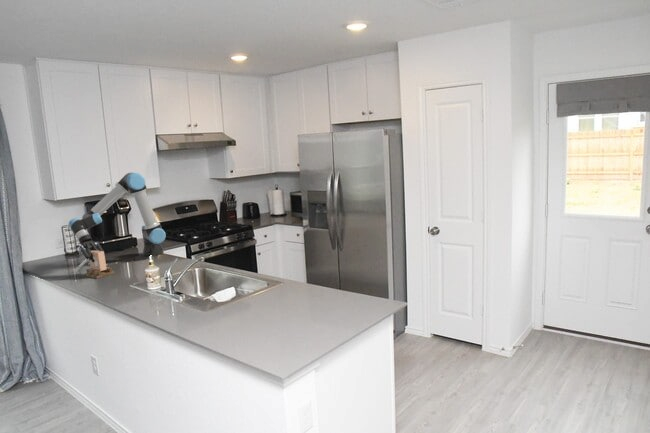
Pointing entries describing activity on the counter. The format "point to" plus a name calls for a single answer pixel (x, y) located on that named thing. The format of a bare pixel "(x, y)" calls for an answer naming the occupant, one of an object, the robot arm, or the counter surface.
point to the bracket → (82, 264)
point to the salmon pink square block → (98, 260)
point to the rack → (99, 273)
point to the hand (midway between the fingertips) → (101, 264)
